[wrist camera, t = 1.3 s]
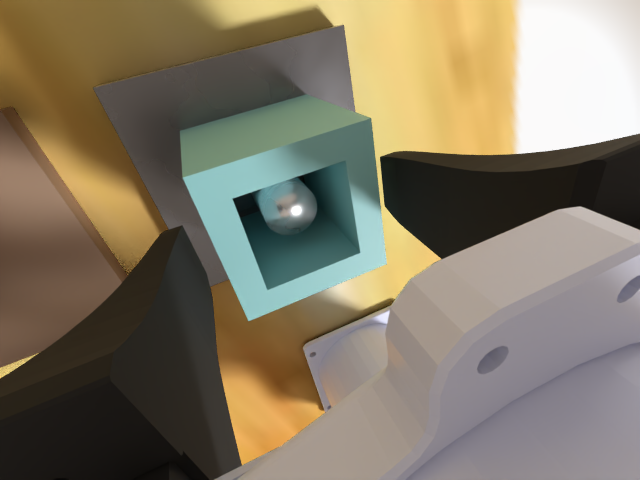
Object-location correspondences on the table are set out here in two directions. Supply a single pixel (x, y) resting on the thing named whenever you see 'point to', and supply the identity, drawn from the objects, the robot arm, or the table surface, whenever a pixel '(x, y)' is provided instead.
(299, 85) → the stand
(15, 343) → the plate
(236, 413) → the table surface
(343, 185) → the collar
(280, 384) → the table surface
